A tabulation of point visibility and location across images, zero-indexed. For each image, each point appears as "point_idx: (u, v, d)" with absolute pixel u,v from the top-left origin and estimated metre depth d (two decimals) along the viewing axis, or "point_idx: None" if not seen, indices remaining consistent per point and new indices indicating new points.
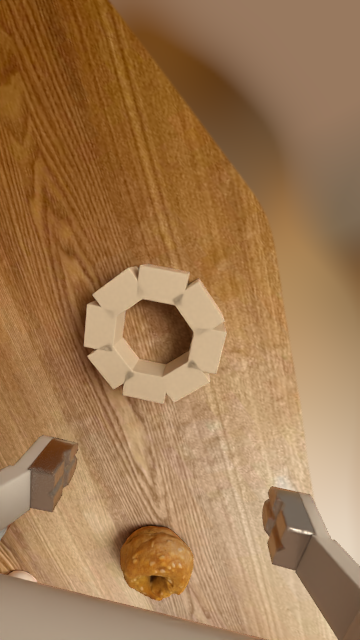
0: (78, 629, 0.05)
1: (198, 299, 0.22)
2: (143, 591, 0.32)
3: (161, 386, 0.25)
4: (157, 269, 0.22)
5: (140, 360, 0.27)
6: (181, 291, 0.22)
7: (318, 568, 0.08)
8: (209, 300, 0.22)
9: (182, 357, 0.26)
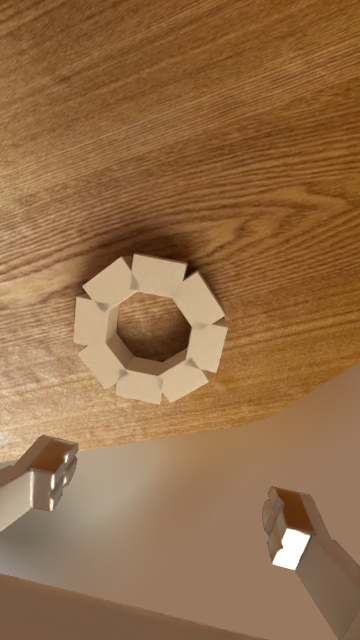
0: (78, 629, 0.05)
1: (191, 380, 0.22)
2: None
3: (94, 341, 0.22)
4: (222, 344, 0.21)
5: (118, 306, 0.24)
6: (199, 366, 0.22)
7: (318, 568, 0.08)
8: (190, 390, 0.23)
9: (126, 353, 0.25)
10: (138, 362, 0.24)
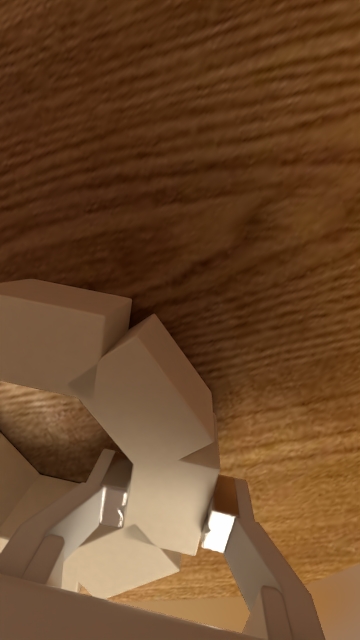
0: (78, 629, 0.05)
1: (141, 567, 0.10)
2: None
3: None
4: (208, 504, 0.09)
5: None
6: (156, 542, 0.09)
7: (239, 549, 0.08)
8: (139, 585, 0.10)
9: (16, 477, 0.12)
10: (39, 498, 0.12)
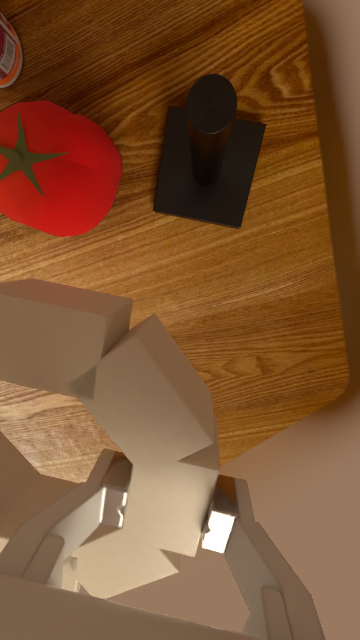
0: (78, 629, 0.05)
1: (140, 568, 0.10)
2: None
3: None
4: (207, 505, 0.09)
5: None
6: (155, 542, 0.09)
7: (239, 550, 0.08)
8: (138, 585, 0.10)
9: (17, 477, 0.12)
10: (39, 498, 0.12)
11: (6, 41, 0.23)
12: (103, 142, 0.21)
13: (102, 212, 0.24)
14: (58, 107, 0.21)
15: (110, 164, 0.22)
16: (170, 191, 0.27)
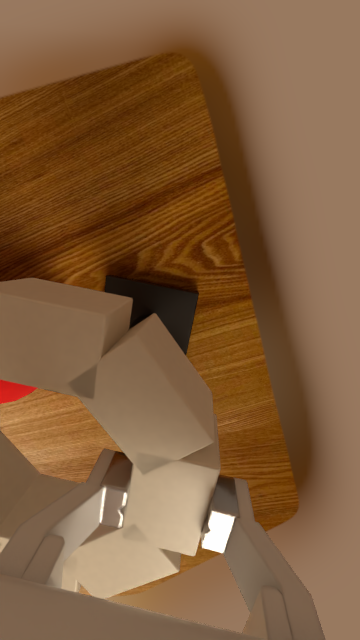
0: (78, 629, 0.05)
1: (140, 567, 0.10)
2: None
3: None
4: (208, 504, 0.09)
5: None
6: (155, 542, 0.09)
7: (239, 549, 0.08)
8: (138, 585, 0.10)
9: (16, 476, 0.12)
10: (39, 497, 0.12)
11: None
12: None
13: None
14: None
15: None
16: None
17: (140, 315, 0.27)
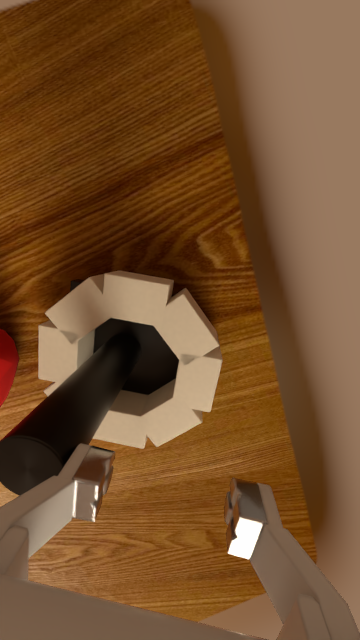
0: (78, 629, 0.05)
1: (181, 421, 0.19)
2: None
3: (63, 377, 0.19)
4: (216, 380, 0.18)
5: (93, 332, 0.20)
6: (189, 405, 0.18)
7: (268, 556, 0.08)
8: (180, 433, 0.19)
9: None
10: (119, 397, 0.21)
11: None
12: None
13: None
14: None
15: None
16: None
17: (117, 332, 0.20)
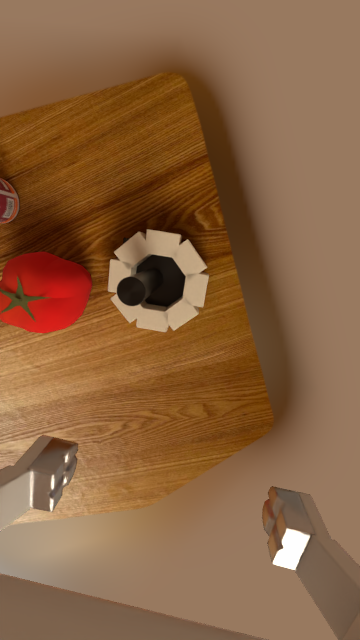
0: (78, 629, 0.05)
1: (187, 313, 0.34)
2: None
3: None
4: (205, 287, 0.33)
5: (136, 268, 0.35)
6: (191, 303, 0.34)
7: (318, 568, 0.08)
8: (186, 321, 0.34)
9: None
10: (150, 306, 0.36)
11: (7, 202, 0.33)
12: (75, 281, 0.31)
13: (78, 316, 0.34)
14: (44, 259, 0.31)
15: (81, 290, 0.32)
16: None
17: (149, 268, 0.36)
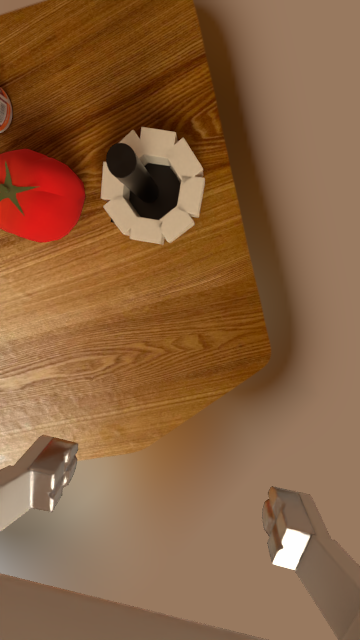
0: (78, 629, 0.05)
1: (182, 222, 0.33)
2: None
3: (115, 195, 0.33)
4: (201, 191, 0.32)
5: None
6: (187, 210, 0.32)
7: (318, 568, 0.08)
8: (181, 230, 0.33)
9: (136, 213, 0.35)
10: None
11: None
12: (66, 177, 0.30)
13: (69, 224, 0.33)
14: (34, 153, 0.30)
15: (72, 191, 0.31)
16: None
17: None
